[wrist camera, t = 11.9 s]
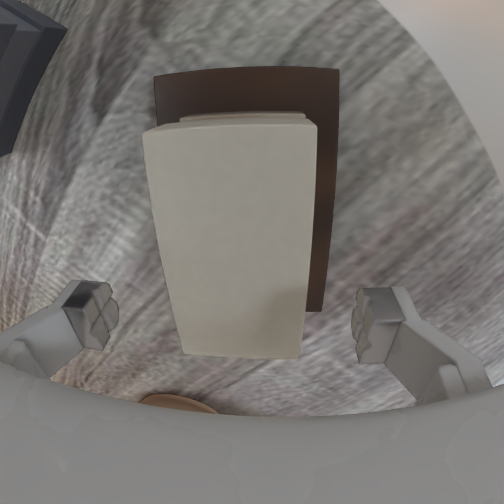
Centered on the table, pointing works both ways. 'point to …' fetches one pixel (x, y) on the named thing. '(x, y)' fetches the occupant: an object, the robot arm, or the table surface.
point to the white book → (235, 231)
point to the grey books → (22, 62)
